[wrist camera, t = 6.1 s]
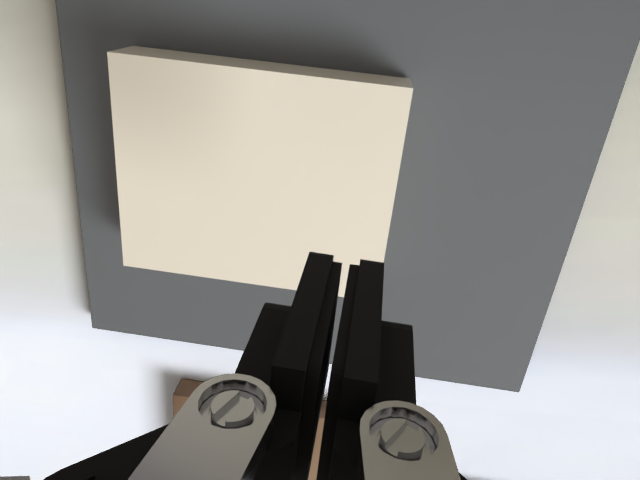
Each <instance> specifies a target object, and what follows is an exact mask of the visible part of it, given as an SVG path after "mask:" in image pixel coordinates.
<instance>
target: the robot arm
mask: <svg viewBox="0 0 640 480" xmlns="http://www.w3.org/2000/svg"><path fill="white" fill-rule="evenodd" d="M333 259H334V255H329V254H323V253H316V252H309V255H308V258H307V261H306V264H305V267H304V270H303V273H302V276H301V279H300V282H299V285H298V288H297V291H296V294H295V297H294V300H293V303H292V306H287V305H281V304H274V303H268V302H266V303H265V304H264V306H263V308H262V310H261V312H260V315H259V317H258V319H257V322H256V324H255V327H254V329H253V331H252V334H251V336H250V338H249V341H248V343H247V346H246V348H245V350H244V353H243V355H242V357H241V360H240V362H239V364H238V367H237V369H236V372H235V374H224V375H220V376H216V377H212V378H211V379H209V380H207V381H205V382H203V383H201V384H200V385H199V386H198V387H197V388H196V389H195V390H194V391H193V393H192V394H191V395H190V397H189V398H188V399H187V401H186V402H185V403H184V405H183V406H182V407H181V409H180V410H179V411H178V413H177V414H176V415H175V417H174V418H173V419H172V421H171V422H170V423H169V424H168V425H166V426H163V427H161V428H158V429H156V430H154V431H151V432H149V433H147V434H144V435H142V436H139V437H137V438H135V439H132V440H130V441H128V442H125V443H123V444H120V445H118V446H116V447H113V448H111V449H109V450H106V451H104V452H101V453H99V454H97V455H94V456H92V457H90V458H87V459H85V460H82V461H80V462H78V463H75V464H73V465H71V466H68V467H66V468H63V469H61V470H59V471H57V472H56V473H54V474H52V475H50V476H48V477H46V478H45V479H44V480H308V477H309V471H310V466H311V460H312V455H313V449H314V444H315V439H316V433H317V428H318V422H319V417H320V411H321V406H322V400H323V395H324V389H325V384H326V378H327V373H328V367H329V360H330V352H331V345H332V337H333V330H334V322H335V315H336V307H337V299H338V292H339V284H340V277H341V269H342V263H340V262H333ZM383 281H384V263H383V262H376V261H370V260H363V259H360V264H359V265H353V264H350V266H349V271H348V277H347V283H346V289H345V294H344V300H343V306H342V312H341V317H340V323H339V329H338V335H337V340H336V346H335V352H334V357H333V363H332V369H331V376H330V382H329V389H328V396H327V404H326V411H325V419H324V426H323V433H322V441H321V448H320V456H319V463H318V470H317V478H316V480H467V479H466V478H465V477H463V476H462V475H461V474H460V473H459V472H458V469H457V465H456V462H455V459H454V455H453V452H452V449H451V445H450V442H449V439H448V435H447V433H446V431H445V429H444V427H443V425H442V424H441V423H440V421H439V420H438V419H437V418H436V417H435V416H434V415H433V414H431V413H430V412H428V411H427V410H425V409H424V408H422V407H420V406H417V405H416V390H415V367H414V343H413V327H412V325H408V324H402V323H395V322H389V321H383V320H382V301H383ZM0 480H30V477H29V476H11V477H0Z"/></svg>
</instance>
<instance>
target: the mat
mask: <svg viewBox="0 0 640 480" xmlns="http://www.w3.org/2000/svg"><path fill="white" fill-rule="evenodd" d="M56 9H57V18H58V27H59V36H60V45H61V54H62V62H63V71H64V80H65V89H66V98H67V107H68V116H69V124H70V133H71V142H72V151H73V160H74V169H75V178H76V187H77V195H78V204H79V213H80V222H81V231H82V240H83V249H84V257H85V266H86V275H87V284H88V293H89V302H90V311H91V320H92V328H97V329H104V330H110V331H117V332H124V333H130V334H137V335H143V336H150V337H157V338H163V339H170V340H177V341H183V342H190V343H196V344H203V345H210V346H216V347H223V348H230V349H236V350H243V351H244V350H245V348H246V346H247V343H248V341H249V338H250V336H251V334H252V331H253V329H254V327H255V324H256V322H257V319H258V317H259V315H260V312H261V310H262V308H263V306H264V304H265V303H266V302H268V303H274V304H281V305H287V306H292V303H293V300H294V297H295V294H296V291H297V290H290V289H283V288H276V287H269V286H262V285H255V284H248V283H241V282H234V281H227V280H220V279H213V278H206V277H199V276H192V275H185V274H178V273H171V272H164V271H157V270H150V269H143V268H137V267H130V266H123V253H122V240H121V227H120V214H119V201H118V188H117V175H116V162H115V149H114V136H113V123H112V110H111V96H110V83H109V70H108V57H107V52H109V51H113V50H117V49H122V48H126V47H130V46H140V47H148V48H157V49H165V50H174V51H182V52H190V53H199V54H207V55H216V56H224V57H233V58H241V59H250V60H258V61H267V62H275V63H283V64H292V65H300V66H309V67H317V68H326V69H334V70H343V71H351V72H360V73H368V74H377V75H385V76H393V77H402V78H410V79H411V81H412V85H413V94H412V100H411V105H410V111H409V117H408V123H407V129H406V135H405V141H404V146H403V152H402V158H401V164H400V170H399V176H398V181H397V187H396V193H395V199H394V205H393V211H392V216H391V222H390V228H389V234H388V240H387V246H386V251H385V257H384V281H383V301H382V320H383V321H389V322H395V323H402V324H408V325H412V327H413V343H414V367H415V377H422V378H428V379H435V380H442V381H448V382H455V383H461V384H468V385H475V386H481V387H488V388H494V389H501V390H508V391H514V392H519V391H520V388H521V385H522V382H523V379H524V376H525V373H526V370H527V368H528V365H529V362H530V359H531V356H532V353H533V350H534V347H535V344H536V341H537V338H538V335H539V332H540V330H541V327H542V324H543V321H544V318H545V315H546V312H547V309H548V306H549V303H550V300H551V297H552V294H553V292H554V289H555V286H556V283H557V280H558V277H559V274H560V271H561V268H562V265H563V262H564V259H565V257H566V254H567V251H568V248H569V245H570V242H571V239H572V236H573V233H574V230H575V227H576V224H577V221H578V219H579V216H580V213H581V210H582V207H583V204H584V201H585V198H586V195H587V192H588V189H589V186H590V183H591V181H592V178H593V175H594V172H595V169H596V166H597V163H598V160H599V157H600V154H601V151H602V148H603V146H604V143H605V140H606V137H607V134H608V131H609V128H610V125H611V122H612V119H613V116H614V113H615V110H616V108H617V105H618V102H619V99H620V96H621V93H622V90H623V87H624V84H625V81H626V78H627V75H628V73H629V70H630V67H631V64H632V61H633V58H634V55H635V52H636V49H637V46H638V43H639V40H640V0H56ZM343 300H344V297H339V296H338V299H337V307H336V315H335V322H334V330H333V337H332V345H331V352H330V360H329V364H332V363H333V357H334V352H335V346H336V340H337V335H338V329H339V323H340V317H341V312H342V306H343Z"/></svg>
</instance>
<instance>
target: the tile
mask: <svg viewBox="0 0 640 480" xmlns="http://www.w3.org/2000/svg"><path fill="white" fill-rule="evenodd" d="M107 57H108V70H109V83H110V96H111V110H112V123H113V136H114V149H115V162H116V175H117V188H118V201H119V214H120V227H121V240H122V253H123V266H130V267H137V268H143V269H150V270H157V271H164V272H171V273H178V274H185V275H192V276H199V277H206V278H213V279H220V280H227V281H234V282H241V283H248V284H255V285H262V286H269V287H276V288H283V289H290V290H297V288H298V285H299V282H300V279H301V276H302V273H303V270H304V267H305V264H306V261H307V258H308V255H309V252H316V253H323V254H329V255H334V259H333V262H340V263H342V269H341V277H340V284H339V292H338V296H339V297H344V294H345V289H346V283H347V277H348V271H349V266H350V264H353V265H359V264H360V259H363V260H370V261H376V262H383V263H384V257H385V251H386V246H387V240H388V234H389V228H390V222H391V216H392V211H393V205H394V199H395V193H396V187H397V181H398V176H399V170H400V164H401V158H402V152H403V146H404V141H405V135H406V129H407V123H408V117H409V111H410V105H411V100H412V94H413V85H412V81H411V79H410V78H402V77H393V76H385V75H377V74H368V73H360V72H351V71H343V70H334V69H326V68H317V67H309V66H300V65H292V64H283V63H275V62H267V61H258V60H250V59H241V58H233V57H224V56H216V55H207V54H199V53H190V52H182V51H174V50H165V49H157V48H148V47H140V46H130V47H126V48H122V49H117V50H113V51H109V52H107Z"/></svg>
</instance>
